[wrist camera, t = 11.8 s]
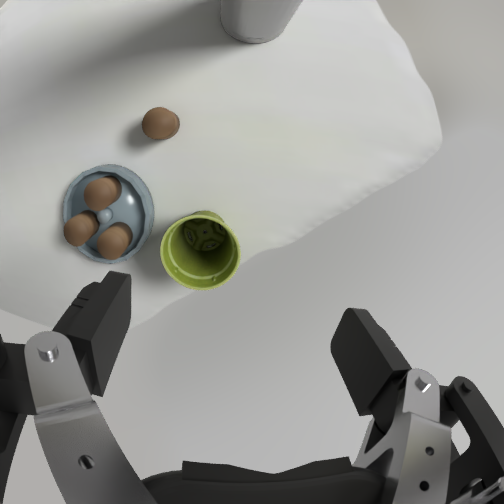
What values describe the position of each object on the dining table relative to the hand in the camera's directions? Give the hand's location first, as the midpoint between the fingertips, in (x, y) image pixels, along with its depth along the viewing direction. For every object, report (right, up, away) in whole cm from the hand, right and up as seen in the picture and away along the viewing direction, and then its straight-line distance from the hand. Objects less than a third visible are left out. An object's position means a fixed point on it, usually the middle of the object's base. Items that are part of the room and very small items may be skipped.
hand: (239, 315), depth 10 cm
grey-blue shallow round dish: (-20, +8, +27) cm, 35 cm away
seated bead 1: (-24, +7, +26) cm, 36 cm away
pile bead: (-11, +19, +24) cm, 32 cm away
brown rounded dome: (-20, +11, +25) cm, 34 cm away
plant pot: (-6, +5, +30) cm, 31 cm away
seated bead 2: (-19, +5, +28) cm, 34 cm away
